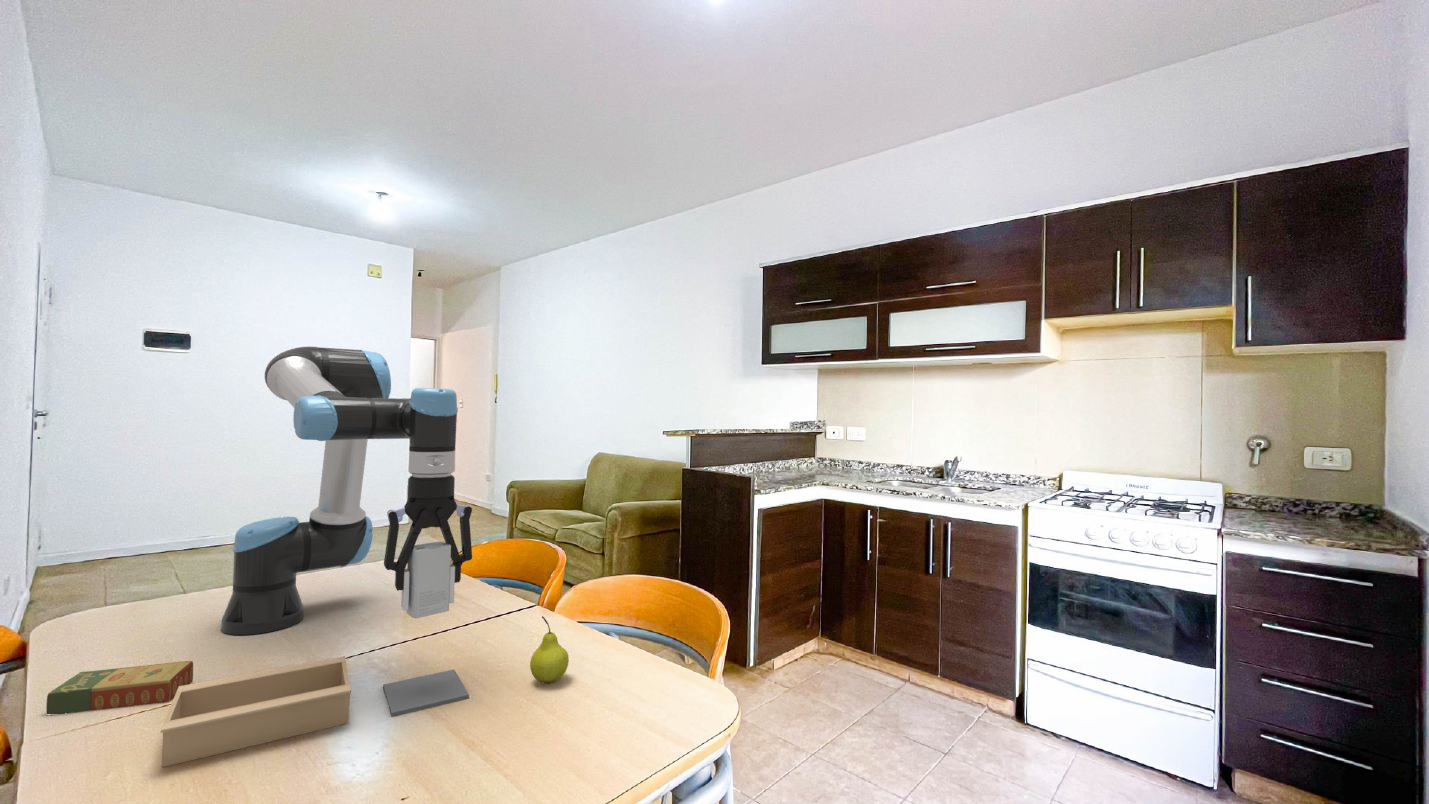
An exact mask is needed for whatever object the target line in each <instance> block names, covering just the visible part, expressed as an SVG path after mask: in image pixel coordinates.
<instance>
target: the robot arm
mask: <svg viewBox="0 0 1429 804" xmlns="http://www.w3.org/2000/svg"><path fill="white" fill-rule="evenodd" d="M264 381H265V384H266V386H267V388H268V390H269V391H270V392H271V393H272V394H273V395H275V396H276V397H277V398H279V399H281V400H283V401H287V402H288V403H289V404H290V405H291V406H292V408H293V415H292V416H293V419H292V420H293V428H294V433H295V436H296V437H298V438H299V439H300V440H305V441H306V440H309V441H310V440H312V441H313V440H314V441H318V442H319V441H320V442H324V441H325V444H324V451H323V452H324V453H323V460H322V468H321V469H322V470H321V481H320V487H319V488H320V489H319V497H318V506H317V507H316V508H315V507H314V509H312V511H310V513H309V520H308V521H303V522H300V520H299V519H298V518H297V517H295V516H284V517H279V516H278V517H273V518H268V519H263V520H258V521H254V522H251V523H249V524H246V525H243V526H242V527H240V528H239V529H238V530H236V532H235V535H234V536H235V537H234V543H233V547H232V552H233V571H232V577H233V578H232V594H231V597H230V599H229V601H228V603H227V606H226V609H225V610H224V614H223V615H222V618H221V623H220V624H221V626H220V631H221V632H222V633H224V634H228V635H236V636H246V635H256V634H257V635H258V634H264V633H270V632H275V631H278V630H282V629H286V628H289V627H292V626H295V625H296V624H298V623H300V622H301V621H303V619H304V618H305V607H304V604H303V601H302V598H301V595H300V593H299V590H298V587H297V575H298V573H305V572H311V571H318V570H325V569H330V568H332V569H333V568H339V567H340V568H343V567H347V566H350V565H355V564H359V563H361V562H362V561H363V560H365V558H367V556H368V554H369V552H370V549H371V546H372V543H373V535H374V534H373V523H372V519H371V518H370V517H368V516H367V512H366V511H365V510H364V509H363V508H362V507H361V499H362V498H361V497H362V488H363V482H364V481H363V480H364V474H365V473H364V472H365V463H366V455H367V448H368V440H396V439H397V440H398V439H399V440H403V439H406V440H409V445H408V446H409V447H408V470H407V471H408V473H409V474H410V476H409V477H408V479H407V500H406V503H405V504H404V507H402V508H398V509H389V510H388V511H387V512H386V513H387V514H386V516H387V518H388V523H389V525H388V532H387V539H386V545H385V553H384V561H383V566H384V567H385V569H386V570H387V571H390V570H391V571H394V572H395V573H394V576H395V578H394V580H395V581H394V587H395V589H396V591H401V599H400V601H401V602H400V603H401V604H400V606H401V608H402V610H403V611H406V610H408V604H409V570H408V569H407V565H408V560H409V558H410V555H411V553H412V550H413V548H414V546H415V545H416V543H417V541H418V537H419V536H420V534H421V533H422V529H429V528H439V529H440V531H441V534H442V537H443V540H444V543H447V544H448V545H451V564H450V595H449V604H454V603H455V584H457V583H460V582H461V580H462V579H461V575H462V566H463V564H464V563H466V562H469V561H471V560H472V558H473V550H472V549H473V548H472V536H471V523H470V519H471V515H472V512H473V508H472V507H471V506H470V505H468V504H464V505H463V504H458V503H457V501H456V500H455V481H456V478H455V476H454V475H453V473H455V472H456V445H457V444H456V440H457V422H458V421H457V418H458V411H459V409H458V403H457V402H458V398H457V396H458V395H457V392H456V391H455V390H454V389H452V388H451V389H450V388H434V387H431V388H430V387H417V388H414V389H412V390H411V394H410V398H405V397H404V398H403V397H401V398H392V397H390V395H391V390H392V379H391V372H390V368H389V365H388V363H387V360H386V358H385V356H384V355H382V354H381V353H378V352H376V351H369V350H363V349H353V348H352V349H350V348H347V349H346V348H334V347H331V348H330V347H318V346H300V347H295V348H291V349H288V350H285V351H282V352H281V353H279V354H277V355H276V356H274V357H273V358H272V359H271V360H269V362H268V363H267V366H266V367H265V371H264ZM455 512H456V515H457V516H458V517H459V529H460V542H461V543H460V544H461V554H460V552H459V550H458V547H457V544H456V541H455V539H454V536H453V533H452V531H451V527H450V524H449V519H450V518H451V517H452V516H453V514H454V513H455ZM405 515H407V517H408V518H409V519H410V520H411V521H412V522H411V525H410V527H409V531H408V533H407V537H406V538H405V541H404V542H403V543H404V544H403V545H402V548H401V551H400V553H399V556H398V558H397V561H395V557H396V549H397V546H398V545H397V543H398V536H399V530H400V522H402V521H403V519H404V516H405Z"/></svg>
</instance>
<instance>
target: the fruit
mask: <svg viewBox="0 0 1429 804" xmlns="http://www.w3.org/2000/svg"><path fill="white" fill-rule="evenodd" d="M541 618H542V619H543V621H544V623H546V625H547V627H548V632H546V633H545V634H544V635H543V637H542V641H541V644H539V646H538V647H537V648H535V651H534V652H533V653H532V656H531V658H530V661H529V663H530V664H529V668H530V672H531V675H532V677H533V678H534V679H535V680H537V682H540V683H542V684H544V685H549V684H553V683H555V682H556V681H558V680H559V679H560V678H561V677H562V676H564V675H565V673H566V672H567V669H568V666H569V662H570V661H569V658H570V657H569V653H568V651H567V650H566V649H565V648H564V647H563V646H562V645H560V644H559V641H558V637H557V636H556V634H555V632H552V631H551V628H550V627H551V626H550V625H549V622H548V621H547V619H546V617H544V615H543V616H541Z"/></svg>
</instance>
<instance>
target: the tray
mask: <svg viewBox="0 0 1429 804" xmlns="http://www.w3.org/2000/svg"><path fill="white" fill-rule="evenodd" d="M350 684H351V683H350V678H349V673H348V668H347V660H346V656H345V655H344V656H337V657H334V658H332V657H331V658H327V659H321V660H315V661H310V662H305V663H301V664H300V663H298V664H295V665H290V666H289V665H287V666H283V667H278V668H273V669H267V670H262V671H256V672H250V673H245V674H244V673H243V674H239V675H234V676H227V677H223V678H217V679H211V680H206V681H201V682H195V683H190V684H189V685H184V686H179V687H178V689H177V692H176V694H175V697H174V698H173V699H172V702H171V704H170V707H169V709H168V711H167V714H166V716H165V718H164V721H163V723H162V727H161V728H160V733H162V746H161V747H162V750H161V753H162V754H161V768H165V767H169V766H173V765H174V766H175V765H177V764H182V763H185V762H191V761H194V760H199V759H202V758H207V757H211V756H216V755H220V754H224V753H227V752H228V753H229V752H232V751H236V750H240V749H244V748H248V747H254V746H257V745H261V744H266V743H268V742H270V743H271V742H275V741H278V740H283V739H286V738H292V737H295V736H299V735H304V734H309V733H313V732H317V731H320V730H325V729H329V728H332V727H333V728H334V727H336V726H337V727H338V726H341V725H347V724H349V722H350V700H351V699H350V698H351V695H350V694H351V692H352V688H351V685H350Z"/></svg>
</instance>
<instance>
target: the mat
mask: <svg viewBox="0 0 1429 804" xmlns="http://www.w3.org/2000/svg"><path fill="white" fill-rule="evenodd" d="M382 688H383V692H384V696H385V699H386V703H387V706H388V710H389V713H390V716H391V718H393V717H396V716H400V715H404V714H409V713H414V712H417V711H422V710H425V709H429V708H434V707H437V706H443V705H446V704H449V703H450V704H451V703H454V702H458V701H462V700H466V699H470V694H469V692H468V690H467V688H466V687H465V685H464V683H463V681H462V680H461V678H460V676H459V675H458V674H457V672H456V670H455V669H449V670H444V671H440V672H435V673H430V674H425V675H422V676H417V677H411V678H406V679H402V680H397V681H392V682H388V683H384V684H382Z"/></svg>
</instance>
